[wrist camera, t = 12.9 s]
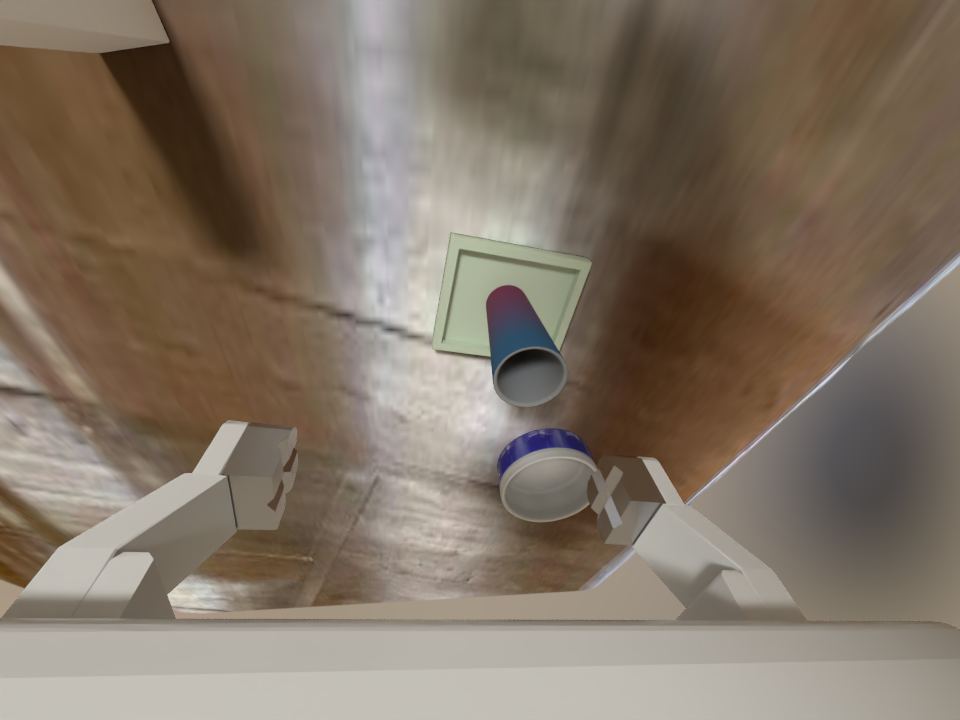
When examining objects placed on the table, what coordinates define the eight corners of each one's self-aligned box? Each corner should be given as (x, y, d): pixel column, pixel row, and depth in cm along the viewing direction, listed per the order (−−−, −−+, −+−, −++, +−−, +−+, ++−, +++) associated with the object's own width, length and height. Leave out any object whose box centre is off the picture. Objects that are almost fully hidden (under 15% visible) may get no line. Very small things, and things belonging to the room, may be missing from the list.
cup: (522, 334, 52) (550, 413, 40) (471, 321, 50) (483, 400, 38) (543, 285, 48) (580, 355, 36) (488, 271, 47) (508, 339, 34)
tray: (450, 232, 45) (451, 237, 43) (587, 257, 48) (592, 263, 46) (431, 341, 52) (431, 349, 51) (550, 357, 55) (554, 364, 54)
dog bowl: (485, 442, 63) (489, 473, 58) (582, 415, 62) (595, 445, 57) (508, 500, 72) (513, 531, 67) (594, 478, 71) (606, 508, 66)
